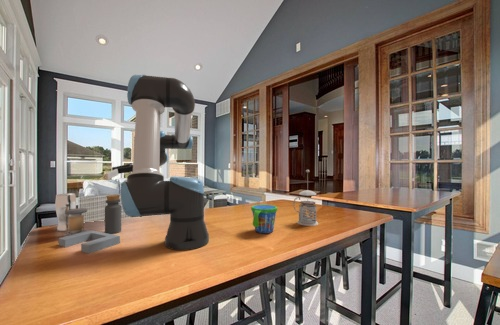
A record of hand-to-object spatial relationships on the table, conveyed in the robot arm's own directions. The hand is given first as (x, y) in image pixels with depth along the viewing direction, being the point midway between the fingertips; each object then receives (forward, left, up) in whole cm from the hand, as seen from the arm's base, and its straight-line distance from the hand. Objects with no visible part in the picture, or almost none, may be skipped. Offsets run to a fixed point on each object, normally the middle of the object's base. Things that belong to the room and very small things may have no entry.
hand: (121, 178), depth 99 cm
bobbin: (+9, +13, -22) cm, 27 cm away
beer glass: (+22, +10, -22) cm, 33 cm away
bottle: (0, +4, -22) cm, 22 cm away
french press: (-69, -43, -22) cm, 84 cm away
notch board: (-6, +17, -22) cm, 28 cm away
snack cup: (-56, -23, -22) cm, 64 cm away
